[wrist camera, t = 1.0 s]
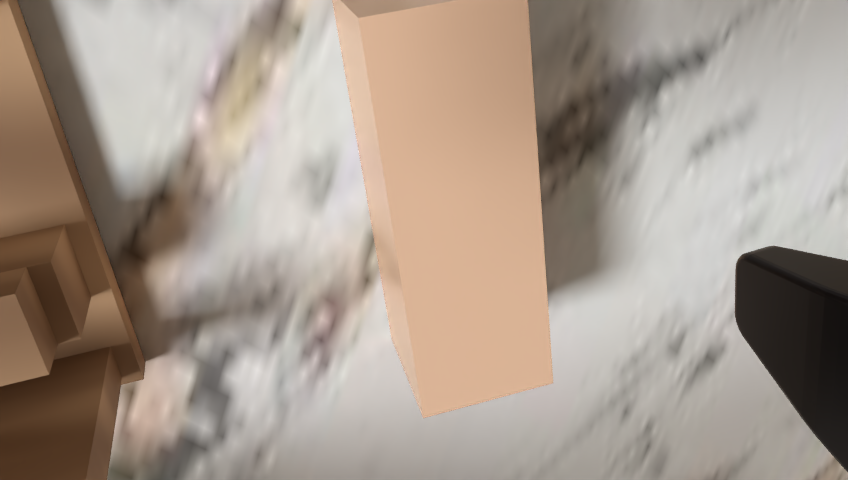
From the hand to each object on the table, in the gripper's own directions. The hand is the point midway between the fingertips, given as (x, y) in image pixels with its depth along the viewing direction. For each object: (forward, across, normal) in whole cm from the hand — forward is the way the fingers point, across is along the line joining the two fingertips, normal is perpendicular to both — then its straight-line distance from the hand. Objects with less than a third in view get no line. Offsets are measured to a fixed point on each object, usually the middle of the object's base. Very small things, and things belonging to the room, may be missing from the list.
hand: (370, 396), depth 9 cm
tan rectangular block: (+13, -3, +3) cm, 13 cm away
